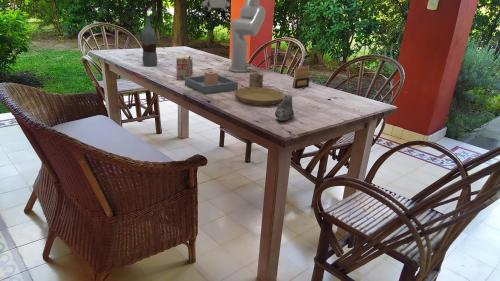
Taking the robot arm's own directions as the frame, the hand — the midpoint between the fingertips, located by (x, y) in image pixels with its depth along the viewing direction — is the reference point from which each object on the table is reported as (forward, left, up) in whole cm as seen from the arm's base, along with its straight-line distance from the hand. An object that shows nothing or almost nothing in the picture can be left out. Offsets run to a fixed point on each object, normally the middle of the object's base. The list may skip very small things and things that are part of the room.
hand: (216, 19), depth 202 cm
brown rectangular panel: (-31, +39, -33) cm, 60 cm away
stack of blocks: (+14, -11, -33) cm, 37 cm away
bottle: (+20, -45, -32) cm, 59 cm away
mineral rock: (+13, +73, -33) cm, 81 cm away
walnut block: (-8, +28, -32) cm, 44 cm away
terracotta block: (+14, +18, -32) cm, 39 cm away
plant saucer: (+5, +47, -33) cm, 58 cm away
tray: (+14, +18, -32) cm, 40 cm away
